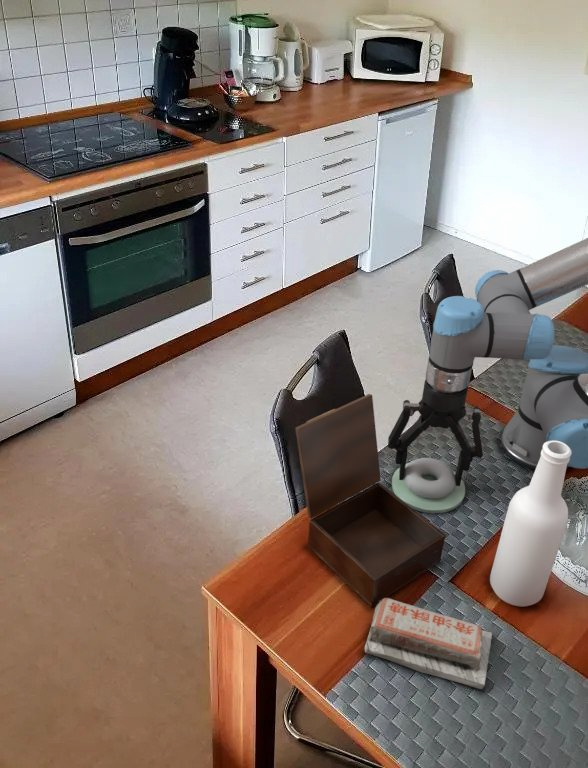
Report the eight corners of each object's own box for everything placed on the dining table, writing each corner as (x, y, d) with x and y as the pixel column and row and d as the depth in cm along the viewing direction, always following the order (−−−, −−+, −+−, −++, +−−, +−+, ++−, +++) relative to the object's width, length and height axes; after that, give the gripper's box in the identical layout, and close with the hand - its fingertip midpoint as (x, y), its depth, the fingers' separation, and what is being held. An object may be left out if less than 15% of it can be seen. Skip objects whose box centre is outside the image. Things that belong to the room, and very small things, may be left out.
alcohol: (549, 581, 124) (596, 442, 107) (533, 617, 118) (580, 476, 101) (499, 559, 128) (536, 421, 111) (481, 593, 121) (517, 453, 104)
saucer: (473, 478, 145) (474, 475, 144) (451, 523, 134) (452, 520, 134) (406, 455, 150) (407, 452, 149) (380, 496, 140) (380, 493, 139)
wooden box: (440, 562, 127) (445, 534, 123) (371, 608, 118) (375, 580, 115) (375, 508, 137) (379, 481, 133) (307, 547, 129) (309, 519, 125)
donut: (463, 483, 143) (419, 460, 148) (466, 469, 141) (421, 446, 146) (437, 510, 136) (392, 485, 141) (440, 497, 134) (394, 472, 139)
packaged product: (365, 634, 108) (381, 584, 116) (362, 654, 111) (378, 604, 119) (489, 672, 104) (497, 617, 112) (483, 692, 107) (491, 637, 114)
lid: (372, 394, 126) (352, 387, 130) (298, 429, 118) (279, 420, 122) (380, 480, 133) (362, 471, 137) (311, 518, 124) (293, 508, 128)
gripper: (381, 388, 126) (369, 485, 139) (515, 401, 124) (491, 498, 137) (382, 364, 132) (370, 459, 145) (510, 376, 130) (487, 471, 143)
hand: (429, 478), depth 141 cm, fingers closed on donut, 10 cm apart
